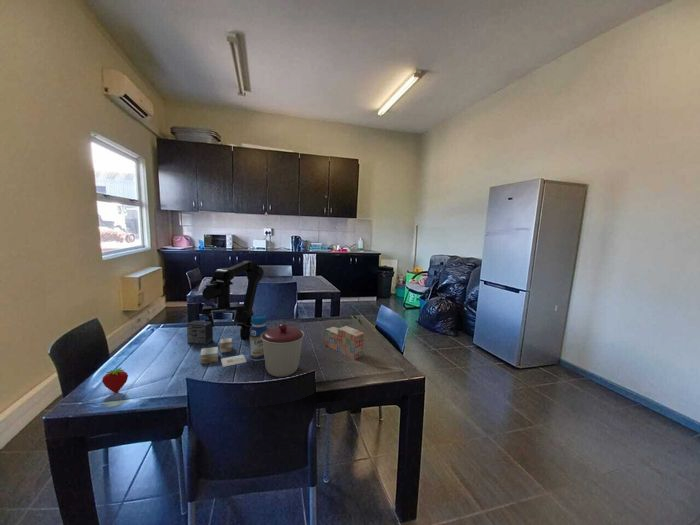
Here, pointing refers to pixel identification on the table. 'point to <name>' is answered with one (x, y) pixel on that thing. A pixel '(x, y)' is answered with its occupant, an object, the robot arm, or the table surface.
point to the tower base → (209, 355)
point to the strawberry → (115, 379)
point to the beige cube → (225, 345)
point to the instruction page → (233, 360)
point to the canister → (282, 349)
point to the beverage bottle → (257, 337)
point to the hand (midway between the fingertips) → (224, 326)
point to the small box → (199, 332)
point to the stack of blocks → (345, 341)
